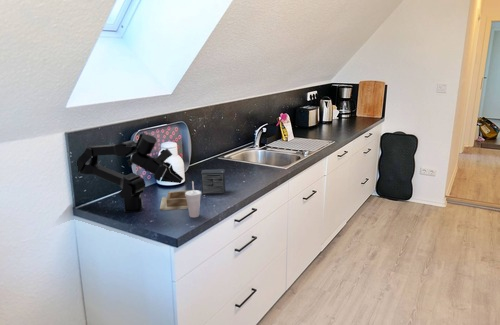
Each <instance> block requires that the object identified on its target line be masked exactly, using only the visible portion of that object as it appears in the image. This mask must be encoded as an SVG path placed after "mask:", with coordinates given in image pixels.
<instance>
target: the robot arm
mask: <svg viewBox="0 0 500 325" xmlns="http://www.w3.org/2000/svg"><path fill="white" fill-rule="evenodd" d="M156 144H157V138H156V137H155V136H153V135H150V134H146V133H145V132H142V133H140V134H139V136H138V140H137V141H136V142H135V140H127V141H124V142H121V143H117V144H105V145H104V144H101V145H100V144H99V145H96V144H94V145H92V146H87V148H85V150H84V152H83V153H82V154H81V155H80V156H78V159H77V160H76V161H77V166H78V172H79V171H80V173H79V174H80V175H93V176H95V177H98V178H101V179H103V180H105V181H107V182H109V183H113V184H115V185H118V186H119V187H120V189H121V190H120V191H119V193H118V194H119V197H120V198H121V199H123V200H124V201H123V203H124V210H123V211H124V213H135V212H142V211H141V210H142V209H143V207H144V204H143V203H144V202H143V196H141V195H142V194H143V193H144V190H145V188H146V181H145V179H144V178H143V177H141V174H140V175H138V174H136V173H134V172H131V173H129V174H123V173H121V172H118V171H116V170H113V169H111V168H108V167H105V166H104V165H101V164H100V163H99V158H100V157H99V156H113V155H114V156H116V157H119V158H127V157H130V156H131V157H130V158H128V160H127V161H126V162H127V163H128V167H129V168H131V167H132V166H133V165H136V166H137V167H139V168H142V169H143V170H144V171H145V172H149V173H150V174H152V175H153V178H154V180H156V181H158V182H165V183H166V182H167V183H173V184H174V183H176V184H181V183H182V181H183V180H184V178H183V176H182V175H180V174H178V173H177V172H176V171H175V170H174V168H173V165H172V163H170V162H169V161H166V160H167V159H168V158H170V157H171V156H172V155H173V153H172V152H171V151H170V150H169V148H166V149H162V150H160V154H159V155H158V156H151V155H150V154H151V153H152V152H153V149H154V148H155V145H156ZM91 156H93V158H91ZM173 156H174V155H173ZM165 161H166V162H165ZM78 172H77V173H78Z"/></svg>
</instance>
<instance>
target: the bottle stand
mask: <svg viewBox="0 0 500 325" xmlns="http://www.w3.org/2000/svg"><path fill="white" fill-rule="evenodd" d="M187 191H188V190H179V191H177V190H176V191H168V192H167V196H162V197H161V202H160V206H159V211H172V210H173V211H175V210H188V205H187V200H186V196H185V192H187Z"/></svg>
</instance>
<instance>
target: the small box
mask: <svg viewBox="0 0 500 325" xmlns="http://www.w3.org/2000/svg"><path fill="white" fill-rule="evenodd" d="M225 174H226V173H225V169H224V168H219V169H217V168H216V169H202V170H201V172H200V175H201V196H206V195H209V196H210V195H225V194H226V178H225V176H226V175H225Z"/></svg>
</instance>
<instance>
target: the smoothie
mask: <svg viewBox="0 0 500 325" xmlns="http://www.w3.org/2000/svg"><path fill="white" fill-rule="evenodd" d="M194 184H195V182H194V181H193V180H192V181H191V185H192V186H191V188H192V189H191V190H186V191H187V192H185V196H186V200H187V205H188V209H187V210H188V215H189V217H190V218H198V217H199V216H200V209H201V208H200V207H201V206H200V205H201V196H202V190H197V189H195V185H194Z"/></svg>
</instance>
